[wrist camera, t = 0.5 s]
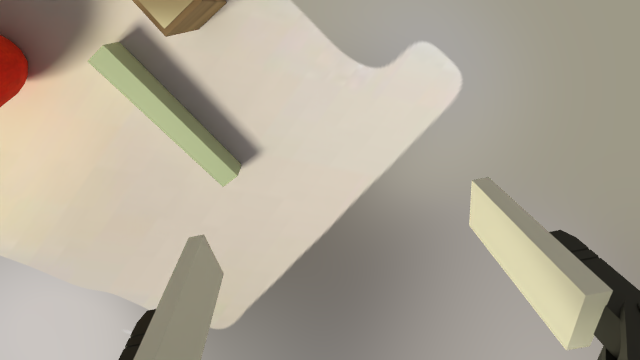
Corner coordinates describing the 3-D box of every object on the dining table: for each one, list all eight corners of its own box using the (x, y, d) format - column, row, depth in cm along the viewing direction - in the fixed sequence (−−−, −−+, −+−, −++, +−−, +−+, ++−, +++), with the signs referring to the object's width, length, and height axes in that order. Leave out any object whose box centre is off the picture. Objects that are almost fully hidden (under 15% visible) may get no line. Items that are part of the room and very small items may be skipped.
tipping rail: (104, 57, 33) (87, 61, 30) (119, 42, 32) (103, 45, 29) (227, 175, 40) (222, 186, 38) (241, 164, 40) (237, 176, 37)
